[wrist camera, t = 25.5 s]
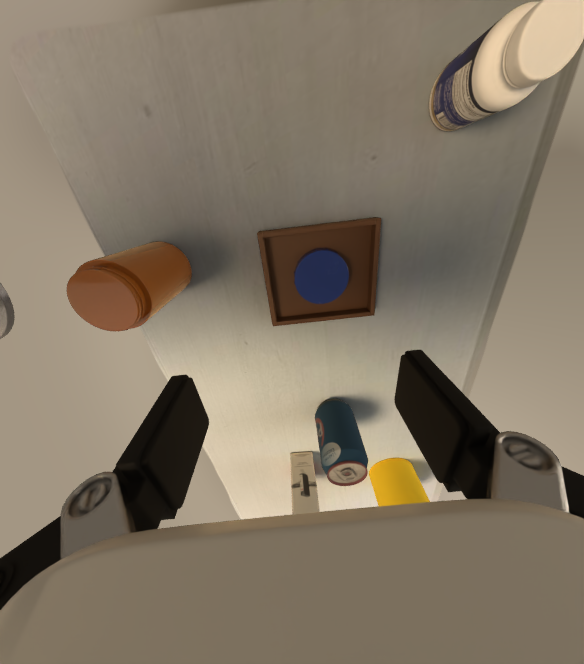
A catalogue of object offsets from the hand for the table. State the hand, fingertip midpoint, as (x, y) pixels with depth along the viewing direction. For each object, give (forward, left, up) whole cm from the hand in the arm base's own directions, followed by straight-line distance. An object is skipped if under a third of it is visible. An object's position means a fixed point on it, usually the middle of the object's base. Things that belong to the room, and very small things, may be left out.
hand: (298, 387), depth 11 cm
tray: (+4, -2, -23) cm, 23 cm away
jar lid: (+4, -2, -21) cm, 22 cm away
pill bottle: (+18, +14, -23) cm, 33 cm away
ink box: (-2, -44, -23) cm, 49 cm away
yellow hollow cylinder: (+18, -50, -23) cm, 57 cm away
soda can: (+5, -28, -23) cm, 36 cm away
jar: (-16, +2, -23) cm, 28 cm away
